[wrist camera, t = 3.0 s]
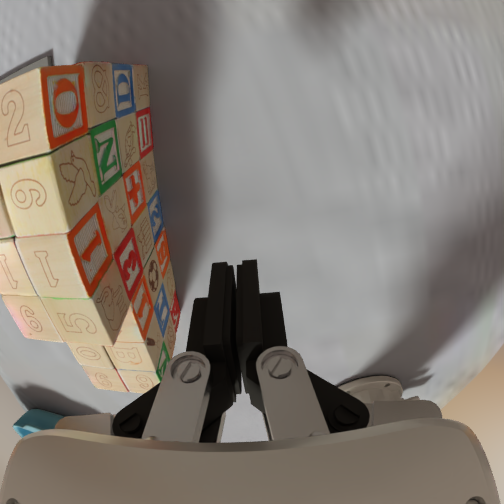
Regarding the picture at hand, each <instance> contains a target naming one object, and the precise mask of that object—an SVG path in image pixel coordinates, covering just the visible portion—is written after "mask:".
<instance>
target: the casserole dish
mask: <svg viewBox="0 0 504 504" xmlns="http://www.w3.org/2000/svg"><path fill="white" fill-rule="evenodd" d="M64 417H66V416H62V415H59V414H55V413H52V412H48V411H45V410H41V409H32V410H29V411H27V412H26V413H25V414H24V415H23V416H22V417H21V418H20V419H19V420H18V421H17V422H16V423H15V424H14V425H13V428H14V430H15V431H16V432H17V433H18V434H19V435H20V436H21V437H22V438H23V437H24V436H26V435H28V434H31V433H34V432H37V431H41V430H49V429H54V428H55V425H56V424H57V422H58V421H59V420H60V419H62V418H64Z"/></svg>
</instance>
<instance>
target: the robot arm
mask: <svg viewBox="0 0 504 504" xmlns="http://www.w3.org/2000/svg"><path fill="white" fill-rule="evenodd" d="M241 372H242V377H243V382H244V387H245V392H246V394H247V393H249V395H250V400H251V404H252V405H253V406H255V407H256V408H257V409H259V410H260V411H261V412H262V415H263V419H264V424H265V428H266V432H267V436H268V440H269V441H258V442H235V443H220V442H221V437H222V432H223V427H224V422H225V417H226V410H228V409H229V408H230V407H231V406H232V405H233V402H236V394H241ZM402 393H403V389H402V386H401V383H400V382H399V381H398V380H397V379H395V378H393V377H389V376H372V377H366V378H362V379H358V380H354V381H352V382H349V383H346V384H344V385H342V386H340V387H336V386H334V385H332V384H331V383H329V382H327V381H325V380H324V379H322V378H320V377H319V376H317V375H315V374H314V373H312V372H310V371H309V370H307V369H306V367H305V364H304V361H303V359H302V357H301V355H300V354H299V353H298V352H297V351H296V350H294V349H292V348H289V347H287V339H286V332H285V325H284V318H283V311H282V304H281V297H280V292H273V293H261V294H260V291H259V280H258V269H257V259H256V260H244V261H242V265H237V289H236V282H235V275H234V269H233V265H229V266H228V264H227V262H219V263H212V270H211V278H210V285H209V294H208V297H206V298H195V300H194V304H193V310H192V316H191V322H190V328H189V335H188V341H187V348H186V352H183V353H180V354H178V355H176V356H174V357H173V358H172V359H171V360H170V361H169V363H168V365H167V367H166V369H165V372H164V375H163V378H162V381H161V382H160V383H158V384H157V385H156V386H154V387H153V388H151V389H150V390H149V391H147V392H146V393H144V394H143V395H142V396H140V397H139V398H137V399H136V400H135V401H133V402H132V403H130V404H129V405H127V406H126V407H125V408H123V409H122V410H120V411H119V412H118V413H117V414H115V415H112V414H111V413H102V414H92V415H80V416H67V417H64V418H62V419H60V420H59V421H58V422H57V424H56V425H55V428H54V429H49V430H41V431H37V432H34V433H31V434H28V435H26V436H24V437H23V438H22V439H21V440H20V441H19V442H18V443H17V444H16V446H15V448H14V450H13V452H12V454H11V457H10V459H9V462H8V465H7V468H6V471H5V475H4V479H3V483H2V487H1V491H0V504H500V500H499V495H498V491H497V487H496V484H495V480H494V477H493V474H492V471H491V468H490V465H489V462H488V460H487V457H486V454H485V452H484V450H483V448H482V445H481V443H480V442H479V440H478V439H477V436H476V435H475V434H474V432H473V431H472V430H471V429H470V428H469V427H468V426H467V425H465V424H463V423H461V422H458V421H454V420H450V419H442V414H441V411H440V408H439V407H438V406H437V405H436V404H435V403H433V402H432V401H428V400H420V399H419V397H418V396H415V397H411V398H409V399H405V400H404V399H403V398H401V396H402Z"/></svg>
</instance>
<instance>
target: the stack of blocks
mask: <svg viewBox="0 0 504 504" xmlns="http://www.w3.org/2000/svg"><path fill="white" fill-rule="evenodd" d="M175 287H176V286H175V281H174V276H173V271H172V266H171V261H170V254H169V248H168V242H167V236H166V231H165V227H164V226H163V218H162V212H161V205H160V198H159V191H158V189H157V179H156V171H155V163H154V155H153V137H152V127H151V115H150V98H149V83H148V67H147V65H138V64H137V65H136V64H133V65H129V64H117V63H110V62H92V61H89V62H79V63H76V64H73V65H62V66H45V67H39V68H36V69H33V70H31V71H29V72H26V73H24V74H22V75H19V76H17V77H14V78H12V79H10V80H8V81H6V82H3V83H1V84H0V293H1V294H2V299H3V301H4V303H5V305H6V306H7V308H8V310H9V312H10V314H11V315H12V317H13V319H14V320H15V322H16V324H17V325H18V327H19V329H20V330H21V332H22V334H23V335H24V337H25V338H30V339H38V340H46V341H54V342H67V344H68V346H69V347H70V349H71V351H72V352H73V354H74V356H75V358H76V359H77V361H78V363H79V364H81V365H82V368H83V369H84V371H85V372H86V374H87V375H88V377H89V379H90V380H91V382H92V383H93V385H94V386H95V387H96V388H99V389H107V390H114V391H121V392H129V391H130V392H136V393H146V392H147V391H149V390H150V389H151V388H153V387H154V386H156V385H157V384H158V383H160V382H161V381H162V378H163V375H164V372H165V369H166V367H167V365H168V363H169V361H170V360H171V359H172V356H173V350H174V345H175V340H176V332H177V328H178V324H179V318H180V313H181V312H180V308H179V304H178V299H177V295H176V290H175Z"/></svg>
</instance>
